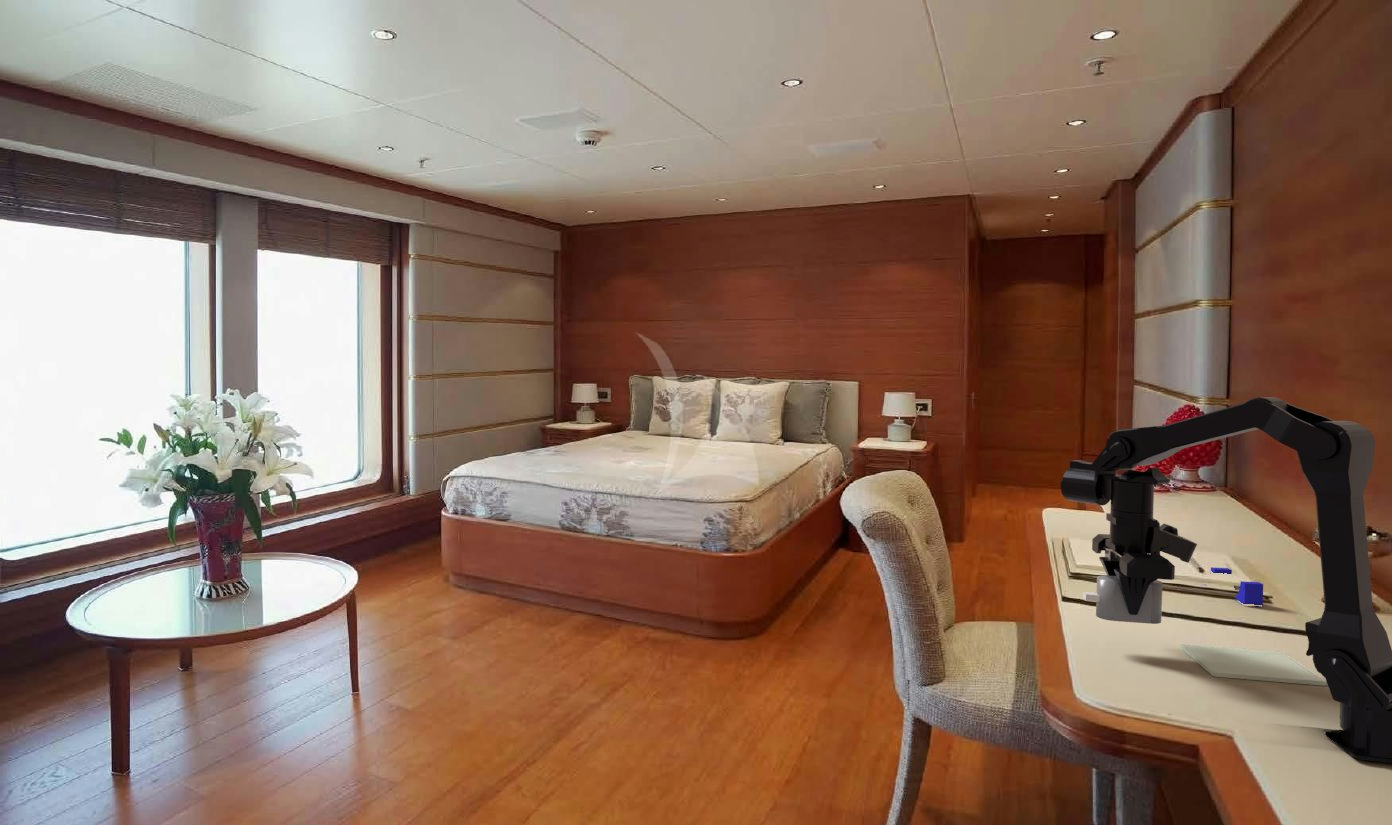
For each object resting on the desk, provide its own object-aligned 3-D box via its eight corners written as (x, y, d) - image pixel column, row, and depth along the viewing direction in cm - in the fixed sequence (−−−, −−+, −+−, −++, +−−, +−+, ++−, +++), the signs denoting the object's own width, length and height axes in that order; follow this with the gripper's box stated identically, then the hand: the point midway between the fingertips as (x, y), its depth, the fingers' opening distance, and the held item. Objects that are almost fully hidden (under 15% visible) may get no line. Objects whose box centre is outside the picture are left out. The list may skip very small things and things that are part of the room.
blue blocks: (1201, 597, 149) (1202, 567, 149) (1226, 598, 148) (1227, 567, 148) (1235, 615, 137) (1236, 583, 137) (1262, 616, 137) (1263, 584, 136)
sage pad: (1327, 685, 105) (1327, 681, 105) (1213, 676, 108) (1213, 672, 108) (1281, 655, 116) (1281, 651, 116) (1180, 647, 120) (1180, 643, 120)
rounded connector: (1165, 624, 114) (1166, 585, 113) (1087, 618, 116) (1088, 580, 116) (1155, 616, 118) (1156, 578, 117) (1080, 611, 120) (1081, 574, 120)
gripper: (1217, 523, 105) (1213, 634, 106) (1167, 503, 123) (1163, 597, 124) (1129, 520, 108) (1126, 627, 108) (1092, 500, 126) (1089, 592, 126)
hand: (1128, 610), depth 117 cm, fingers closed on rounded connector, 4 cm apart
